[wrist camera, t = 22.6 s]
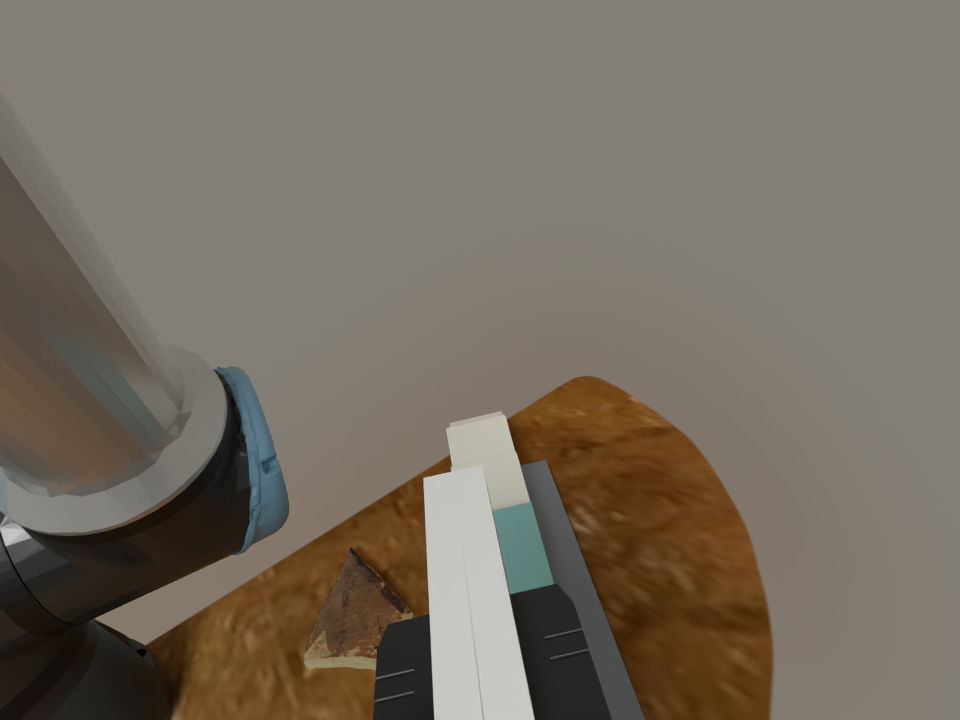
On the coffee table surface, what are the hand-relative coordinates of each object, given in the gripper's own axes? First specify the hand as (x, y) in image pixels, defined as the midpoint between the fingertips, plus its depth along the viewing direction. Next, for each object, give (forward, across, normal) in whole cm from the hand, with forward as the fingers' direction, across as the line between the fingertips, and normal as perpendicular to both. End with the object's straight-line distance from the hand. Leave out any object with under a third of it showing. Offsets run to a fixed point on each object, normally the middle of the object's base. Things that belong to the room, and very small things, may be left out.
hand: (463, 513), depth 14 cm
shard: (+20, -13, -27) cm, 36 cm away
